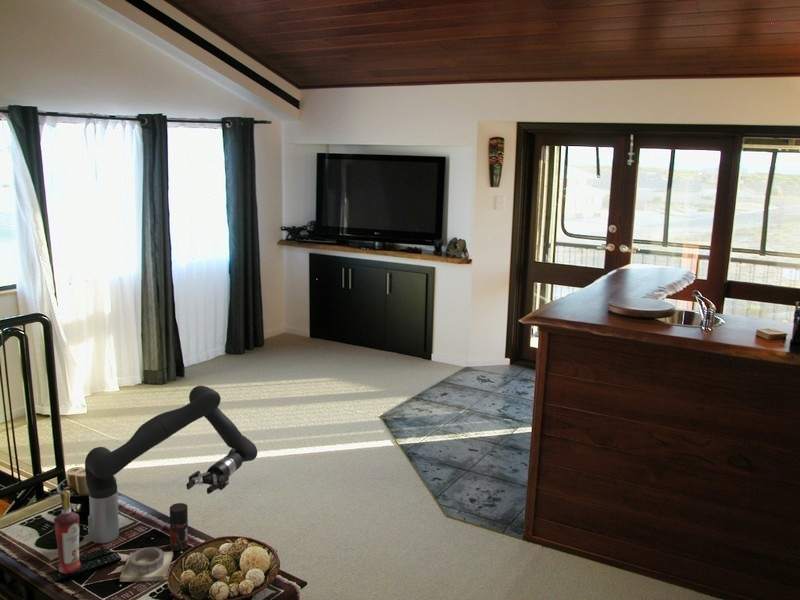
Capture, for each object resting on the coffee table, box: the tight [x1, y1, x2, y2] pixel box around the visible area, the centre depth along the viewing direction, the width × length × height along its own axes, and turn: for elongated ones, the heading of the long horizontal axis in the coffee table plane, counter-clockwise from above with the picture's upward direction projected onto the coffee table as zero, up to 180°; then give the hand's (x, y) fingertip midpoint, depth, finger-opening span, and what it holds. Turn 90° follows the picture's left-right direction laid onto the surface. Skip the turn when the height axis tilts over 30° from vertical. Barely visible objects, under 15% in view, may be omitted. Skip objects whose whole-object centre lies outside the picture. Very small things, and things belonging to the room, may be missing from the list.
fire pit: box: [119, 546, 174, 583], centre depth 231 cm, size 14×14×5 cm
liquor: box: [53, 489, 82, 575], centre depth 225 cm, size 7×7×28 cm
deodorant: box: [169, 502, 189, 552], centre depth 243 cm, size 6×6×15 cm
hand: (197, 489), depth 252 cm, fingers open, 8 cm apart
